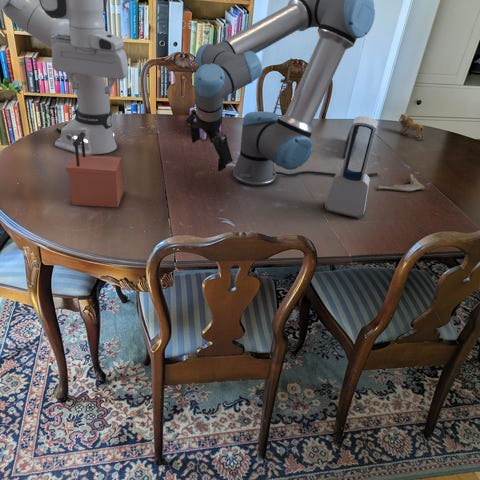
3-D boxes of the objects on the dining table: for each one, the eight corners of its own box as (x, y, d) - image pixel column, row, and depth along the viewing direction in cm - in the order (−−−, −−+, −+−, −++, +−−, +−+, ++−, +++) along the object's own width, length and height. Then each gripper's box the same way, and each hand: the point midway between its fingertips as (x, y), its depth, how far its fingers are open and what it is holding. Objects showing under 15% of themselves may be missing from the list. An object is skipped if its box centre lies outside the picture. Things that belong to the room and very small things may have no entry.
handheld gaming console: (349, 160, 187) (354, 136, 182) (342, 158, 188) (347, 134, 183) (355, 142, 206) (361, 119, 201) (349, 140, 207) (354, 118, 201)
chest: (72, 204, 138) (68, 171, 133) (80, 190, 146) (77, 158, 140) (117, 207, 139) (115, 174, 134) (123, 193, 147) (121, 161, 142)
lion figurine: (393, 132, 222) (398, 113, 217) (398, 130, 225) (403, 111, 221) (423, 141, 214) (429, 122, 210) (427, 139, 218) (433, 120, 213)
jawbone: (429, 189, 172) (431, 184, 171) (394, 201, 161) (396, 196, 160) (410, 177, 177) (412, 172, 176) (375, 189, 167) (376, 184, 165)
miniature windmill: (286, 130, 210) (297, 60, 194) (268, 127, 211) (277, 58, 195) (288, 124, 218) (299, 56, 202) (271, 121, 219) (279, 54, 203)
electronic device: (364, 210, 152) (388, 120, 136) (361, 221, 146) (387, 128, 130) (327, 201, 155) (346, 112, 139) (322, 211, 149) (342, 119, 133)
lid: (65, 171, 132) (62, 142, 128) (74, 158, 140) (71, 130, 136) (115, 174, 134) (114, 145, 129) (121, 161, 142) (120, 133, 137)
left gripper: (44, 35, 120) (50, 89, 128) (121, 44, 119) (123, 99, 126) (55, 31, 125) (61, 83, 133) (129, 40, 124) (131, 93, 132)
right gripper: (171, 90, 133) (176, 134, 153) (226, 149, 127) (223, 187, 146) (192, 77, 135) (194, 123, 155) (247, 135, 129) (242, 175, 148)
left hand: (92, 91), depth 130 cm, fingers open, 8 cm apart
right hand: (208, 154), depth 150 cm, fingers open, 13 cm apart
